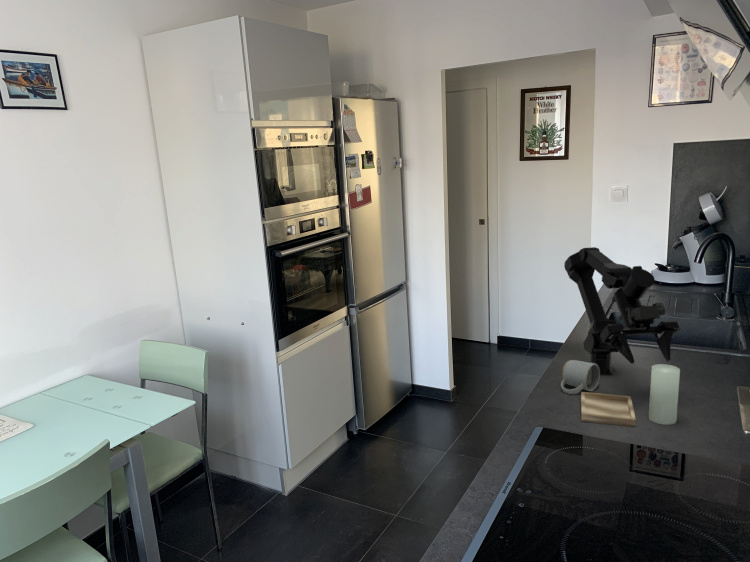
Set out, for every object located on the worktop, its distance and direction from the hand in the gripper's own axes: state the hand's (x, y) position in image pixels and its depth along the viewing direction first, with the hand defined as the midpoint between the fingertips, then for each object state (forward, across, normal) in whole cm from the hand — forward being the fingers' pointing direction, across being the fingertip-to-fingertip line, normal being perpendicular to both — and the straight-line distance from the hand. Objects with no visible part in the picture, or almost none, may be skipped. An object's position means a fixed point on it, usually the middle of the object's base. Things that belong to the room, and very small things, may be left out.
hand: (650, 361), depth 140 cm
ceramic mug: (-2, -12, +19) cm, 23 cm away
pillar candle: (+13, 0, +4) cm, 14 cm away
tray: (+9, -11, +8) cm, 17 cm away
